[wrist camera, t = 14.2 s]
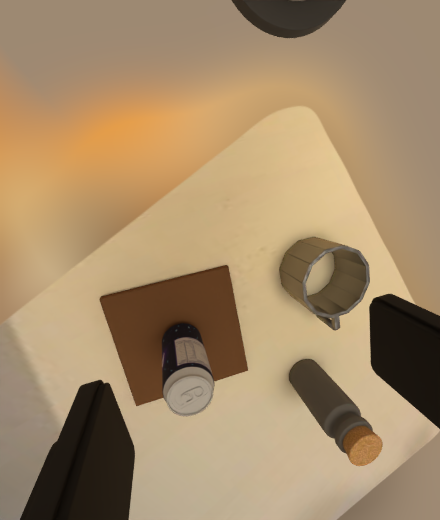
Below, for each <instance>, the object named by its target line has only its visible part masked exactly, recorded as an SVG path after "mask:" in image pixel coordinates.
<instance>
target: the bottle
mask: <svg viewBox="0 0 440 520" xmlns="http://www.w3.org/2000/svg"><path fill="white" fill-rule="evenodd" d="M289 379H290V382H291V384H292V386H293V387H294V389H295V390H296V391H297V393H298V394H299V396H300V397H301V399H302V400H303V402H304V403H305V405H306V406H307V407H308V409H309V410H310V412H311V413H312V415H313V416H314V417H315V419H316V420H317V422H318V423H319V425H320V426H321V427H322V429H323V430H324V432H325V433H326V434H327V435H328V436H329V437H331V438H334V439H335V442H336V444H337V446H338V447H339V449H340V450H341V451H342V452H344V453H347V455H348V457H349V460H350V461H351V463H352V464H354V465H356V466H364V465H367V464H369V463H371V462H372V461H373V460H375V459H376V458H377V457H378V455H379V454H380V452H381V450H382V440H381V438H380V437H379V436H378V435H376V434H375V433H374V432H373V429H372V427H371V425H370V424H369V423H368V422H367V420H365V419H364V418H362V417H361V413H360V410H359V408H358V407H357V406H356V405H355V404H354V402H353V401H352V400H351V399H350V398H349V397H348V396H347V395H346V394H345V393H344V392H343V390H342V389H341V388H340V387H339V386H338V385H337V384H336V383H335V382H334V381H333V380H332V379H331V378H330V376H329V375H328V374H327V373H326V372H325V371H324V370H323V369H322V368H321V367H320V366H319V365H318V364H317V363H316V362H315V361H313V360H310V359H305V360H302V361H299V362H298V363H296V364H295V365H294V366H293V368H292V369H291V371H290V375H289Z"/></svg>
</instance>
